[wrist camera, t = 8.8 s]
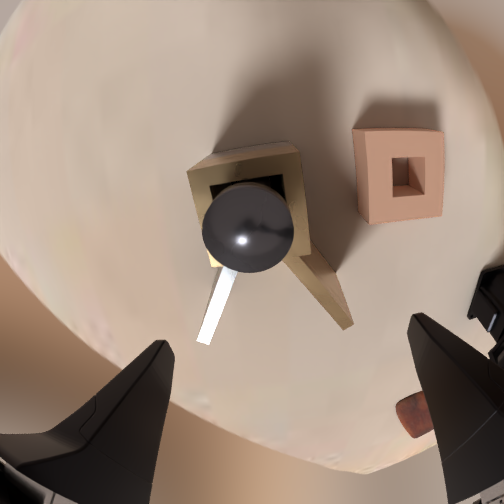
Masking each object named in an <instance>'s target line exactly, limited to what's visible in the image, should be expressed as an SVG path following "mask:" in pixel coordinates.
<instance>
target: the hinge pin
mask: <svg viewBox="0 0 504 504" xmlns="http://www.w3.org/2000/svg"><path fill="white" fill-rule="evenodd" d="M202 236H203V240H204V243H205V246H206V248H207V250H208V251H209V253H210V254H211V255H212V256H213V258H214V259H215V260H216V261H218V262H219V263H220V264H222V265H223V266H225V267H227V268H229V269H231V270H234V271H238V272H244V273H255V272H261V271H264V270H267V269H269V268H271V267H273V266H275V265H276V264H278V263H279V262H280V261H281V260H282V259H283V258H284V257H285V256H286V255H287V253H288V252H289V250H290V248H291V245H292V242H293V238H294V225H293V220H292V216H291V212H290V209H289V207H288V205H287V203H286V202H285V200H284V199H283V197H282V196H281V195H280V194H279V193H277V192H276V191H275V190H273V189H272V188H271V184H270V178H269V176H264V177H257V178H251V179H245V180H241V181H240V183H237V184H234V185H231V186H229V187H227V188H225V189H224V190H223V191H221V192H220V193H219V194H218V195H217V196H216V197H215V198H214V200H213V201H212V203H211V205H210V206H209V208H208V210H207V211H206V213H205V216H204V219H203V223H202Z"/></svg>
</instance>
